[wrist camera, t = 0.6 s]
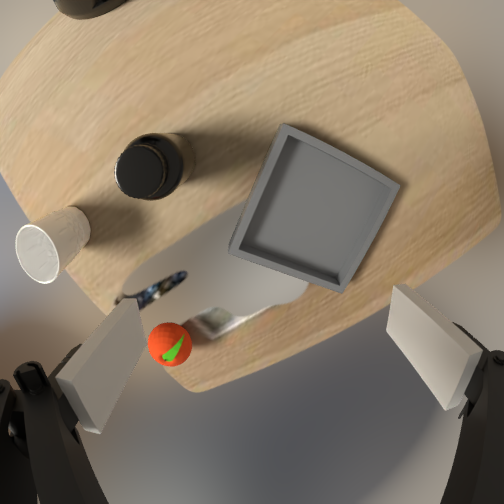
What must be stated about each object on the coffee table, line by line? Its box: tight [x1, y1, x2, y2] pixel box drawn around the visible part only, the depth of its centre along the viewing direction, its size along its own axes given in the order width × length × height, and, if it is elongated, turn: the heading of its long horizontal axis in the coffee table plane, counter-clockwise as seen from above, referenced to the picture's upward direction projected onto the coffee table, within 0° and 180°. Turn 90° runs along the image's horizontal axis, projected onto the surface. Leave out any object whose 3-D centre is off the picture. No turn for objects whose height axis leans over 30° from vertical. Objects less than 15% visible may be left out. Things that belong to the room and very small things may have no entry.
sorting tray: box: [228, 123, 400, 293], centre depth 35 cm, size 17×17×3 cm
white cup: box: [15, 206, 91, 284], centre depth 31 cm, size 8×8×10 cm
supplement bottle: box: [114, 133, 195, 201], centre depth 27 cm, size 7×7×12 cm
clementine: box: [148, 323, 192, 366], centre depth 40 cm, size 8×7×7 cm
